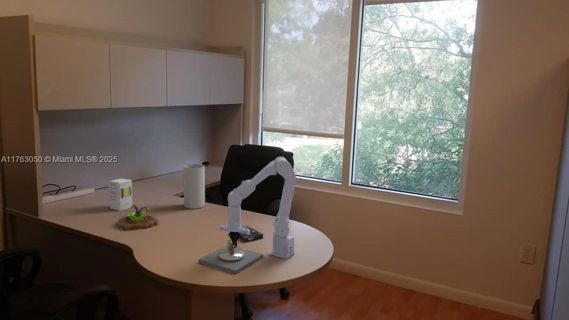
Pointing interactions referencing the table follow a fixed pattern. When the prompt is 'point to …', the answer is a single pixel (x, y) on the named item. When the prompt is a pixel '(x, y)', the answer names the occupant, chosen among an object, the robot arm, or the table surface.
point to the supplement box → (120, 194)
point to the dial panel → (233, 266)
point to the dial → (231, 253)
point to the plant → (137, 220)
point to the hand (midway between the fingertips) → (234, 247)
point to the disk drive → (251, 235)
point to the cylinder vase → (194, 186)
